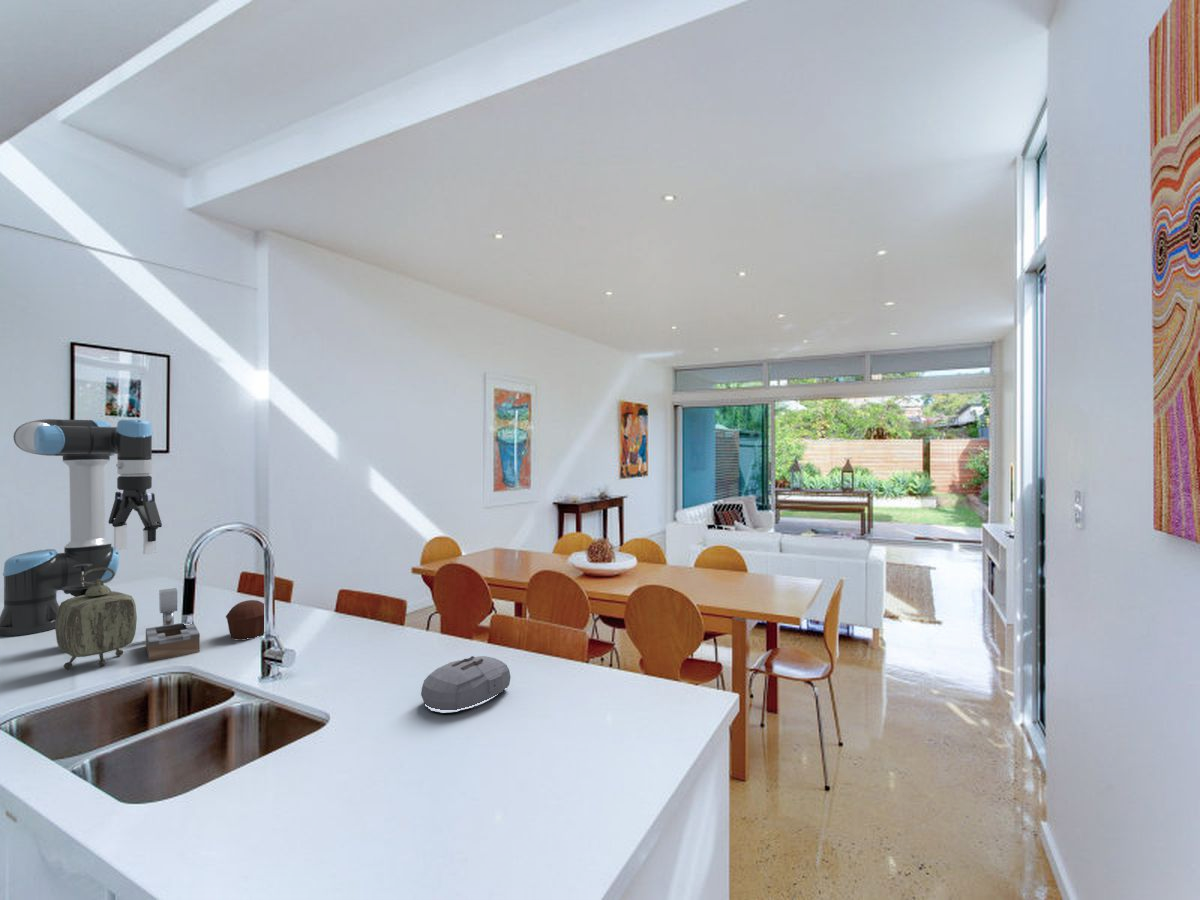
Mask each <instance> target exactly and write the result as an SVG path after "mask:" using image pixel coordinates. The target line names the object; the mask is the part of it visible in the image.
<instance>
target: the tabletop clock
mask: <svg viewBox="0 0 1200 900" xmlns="http://www.w3.org/2000/svg"><path fill="white" fill-rule="evenodd" d="M97 570H108V571H110V572H112V577H110V578H109V579H106V580H104V581H101V579H99V578H98V579H96V580H95V582H85V581H84V580H83V577H84V576H85V575H86V574H88V573H90V572H93V571H97ZM114 575H115V573H114V571H113V570H112V569H110V568H106V567H100V568H94V569H90V570H88V571H86V572H85V573H84V574H83V575H82V577H81V581H82V582H83V583H84V584H88V585H95V586H92V587H90V588H89V589H88V590H87V591H86V593H85V595H82V596H77V597H74V596H73V597H70V598H68V599H66V600H63V601H61V602H60V604H59V608H58V611H57V616H56V627H55V628H54V629H55V636H56V637H55V638H56V642H57V647H58V648H59V650H60V651H61V652H63V653H64V654H67V655H69V656H71V658H70V660H69V661H67V662H65V663H64V664H63V668H64V669H67V670H68V669H70V668H71V667H73V662H74V661H75V659H76V658H84V657H91V656H96V655H98V656H99V659H100V660H99V661H98V662H97V665H98V666H99V667H104V666H106V664H107V660H106V659H104V654H106V653H109V652H111V651H115V656H117V657H120V656H122V655H123V654H124V650H123V649H121V648H124V647H127V646H128V645H130V644H132V643H133V640H134V638H135V635H136V630H137V621H138V617H137V607H136V603H135V602H136V601H135V599H134V597H133V596H132V595H130V594H126V593H123V592H119V591H115V590H114V591H113V590H111V588H110V587H109V586H107V585H105V584H107V583H106V582H108V581H110V580H111V579H112V578H113V577H114ZM115 576H116V575H115ZM114 578H115V577H114ZM114 578H113V579H114ZM111 581H112V580H111ZM111 581H110V582H111ZM102 583H104V585H101V584H102ZM108 583H109V582H108Z"/></svg>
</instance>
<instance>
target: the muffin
mask: <svg viewBox="0 0 1200 900" xmlns="http://www.w3.org/2000/svg"><path fill="white" fill-rule="evenodd" d="M264 604H265V603H263V602H262V601H259V600H258V599H257V600H256V599H249V600H243V601H240V602H238V603H237V604H235V605H234V606H233V607H231V609H230V610H229V611H228V613H227V614H226V615H225V618H226V622H227V625H228V631H229V637H230V639H232V638H233V640H234V639H246V640H248V639H247V638H253V639H256V638H255V637H257V636H259V637H261V636H264V634H265V633H264ZM257 638H258V637H257Z"/></svg>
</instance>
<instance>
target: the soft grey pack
mask: <svg viewBox="0 0 1200 900" xmlns="http://www.w3.org/2000/svg"><path fill="white" fill-rule="evenodd" d="M511 678H512V677H511V672H510V669H509V666H508V665H507V664H506V663H505V662H503V661H502V660H500V659H497V658H495V657H491V656H487V655H486V656H485V655H484V656H483V655H482V656H475V655H473V656H472V655H471V656H470V657H468V658H467V657H466V658H464V659H461V660H455V661H451V662H448V663H447V664H444V665H442V666H440V667H437V668H436V669H435V670H433V671H432V672H431V673H429V674H428V675H427V677H426V678H425V679H424V680H423V683H422V686H421V691H420V696H421V698H422V700H423V704H424V703H425V704H426V705H427V706H429V707H431V708H435V709H440V710H457V709H461V708H465V707H469V706H472V705H475V704H477V703H480V702H482V701H484V700H487V699H489V698H491V697H493V696H495V695H497V694H499V693H501V692H502V691H503V690H504V689H505V688H507V689H508V687H509V686H510V683H511V682H510V681H511ZM503 692H504V691H503ZM503 692H502V693H503ZM502 693H501V694H502ZM499 695H500V694H499Z"/></svg>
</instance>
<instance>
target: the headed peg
mask: <svg viewBox="0 0 1200 900" xmlns="http://www.w3.org/2000/svg"><path fill="white" fill-rule="evenodd" d="M158 594H159V596H158V597H159V598H158V599H159V600H158V601H159V602H158V603H159V604H158V606H159V608H158V611H159V614H162V626H165V625H172V624H175V623H174V622H175V620H174V619H175V617H174V616H175V614H174V613H175V612H178V589H177V588H176V587H173V588H165V589H160V590H159V592H158Z"/></svg>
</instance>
